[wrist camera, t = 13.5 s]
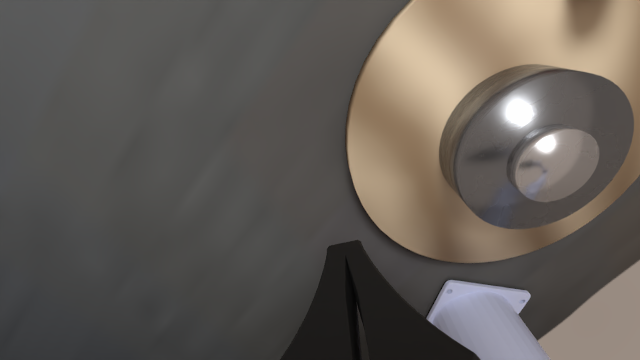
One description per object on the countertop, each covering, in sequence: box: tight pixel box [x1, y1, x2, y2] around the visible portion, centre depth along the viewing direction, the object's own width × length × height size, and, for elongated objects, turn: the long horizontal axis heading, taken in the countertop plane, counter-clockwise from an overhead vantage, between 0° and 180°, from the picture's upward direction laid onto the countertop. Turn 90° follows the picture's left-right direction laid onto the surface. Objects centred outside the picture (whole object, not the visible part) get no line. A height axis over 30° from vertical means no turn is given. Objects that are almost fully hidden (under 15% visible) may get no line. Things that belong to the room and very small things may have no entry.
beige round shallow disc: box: [345, 0, 640, 263], centre depth 19 cm, size 20×20×4 cm
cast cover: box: [439, 64, 634, 229], centre depth 18 cm, size 9×9×4 cm
